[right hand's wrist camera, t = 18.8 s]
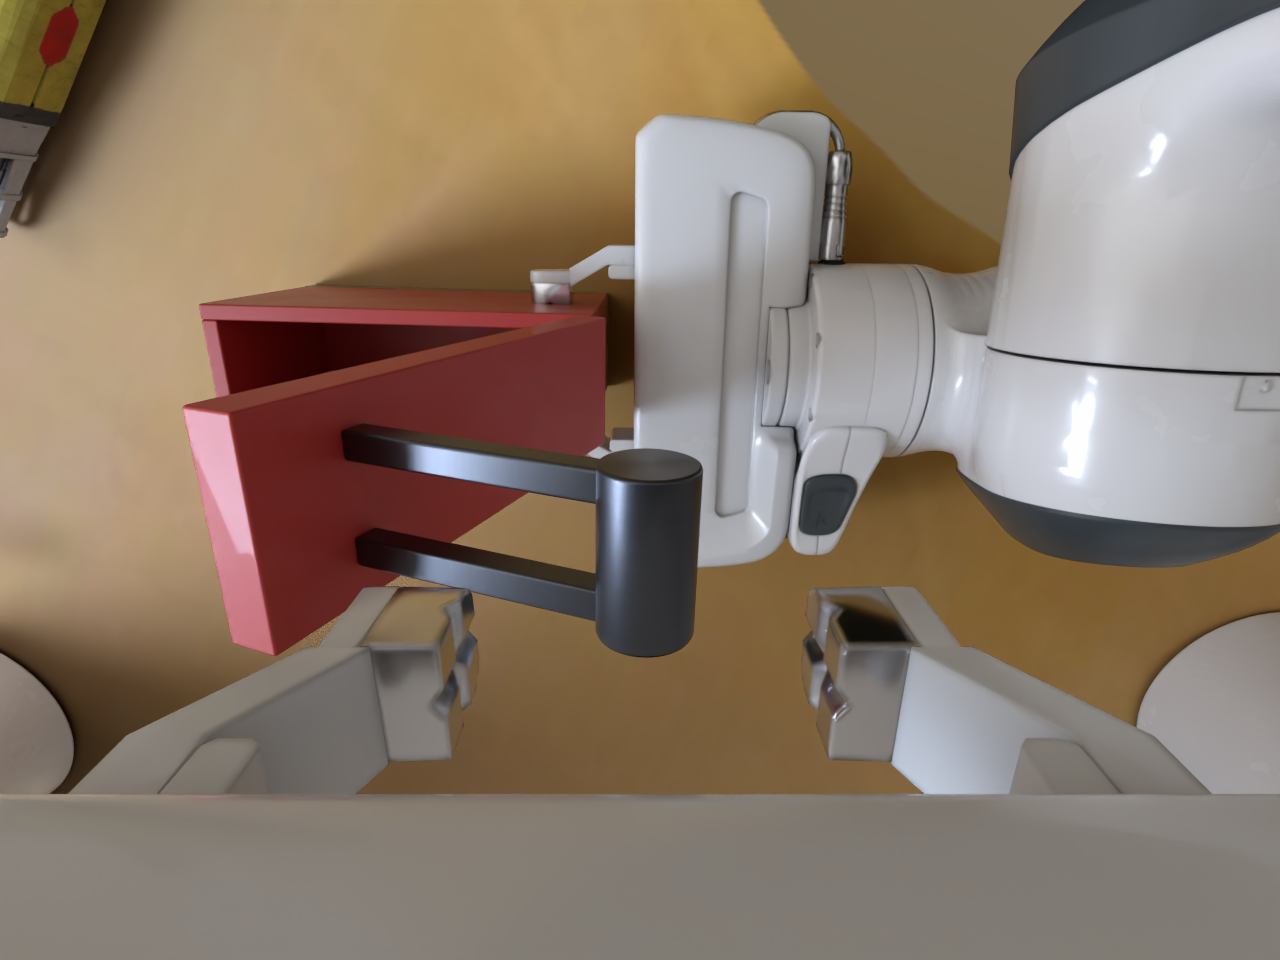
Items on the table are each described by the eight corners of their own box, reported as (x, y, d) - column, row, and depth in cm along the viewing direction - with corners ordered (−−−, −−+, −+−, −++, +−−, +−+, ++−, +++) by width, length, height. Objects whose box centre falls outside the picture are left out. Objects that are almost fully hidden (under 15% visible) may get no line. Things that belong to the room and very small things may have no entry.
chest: (325, 378, 38) (221, 426, 29) (312, 285, 36) (197, 303, 27) (607, 386, 38) (593, 436, 29) (607, 292, 36) (593, 314, 27)
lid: (231, 644, 14) (638, 770, 11) (179, 405, 12) (648, 477, 9) (578, 439, 28) (797, 470, 25) (577, 315, 26) (812, 332, 23)
